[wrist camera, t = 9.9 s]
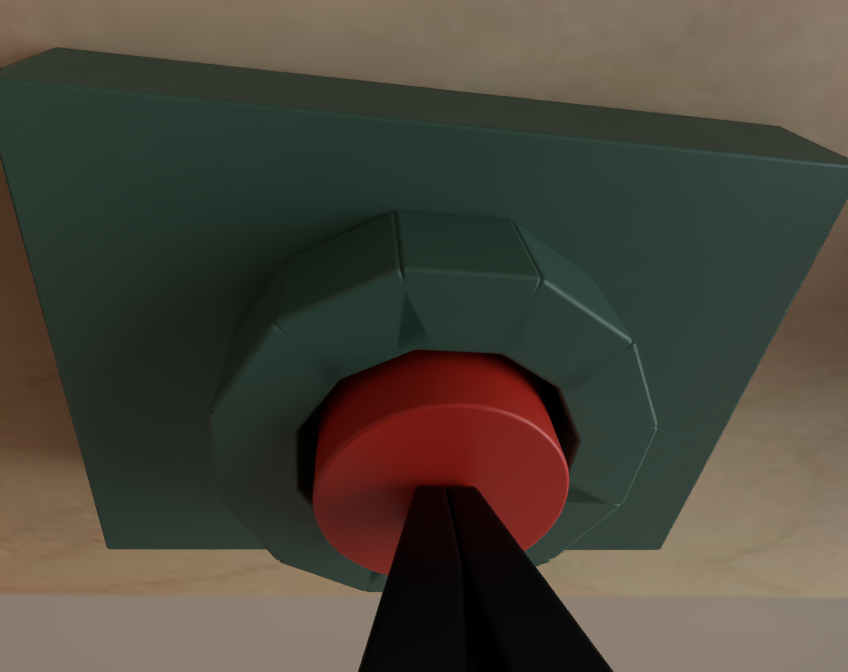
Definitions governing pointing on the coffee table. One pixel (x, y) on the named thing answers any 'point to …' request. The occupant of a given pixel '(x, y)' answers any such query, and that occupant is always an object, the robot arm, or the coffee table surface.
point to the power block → (389, 280)
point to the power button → (434, 448)
